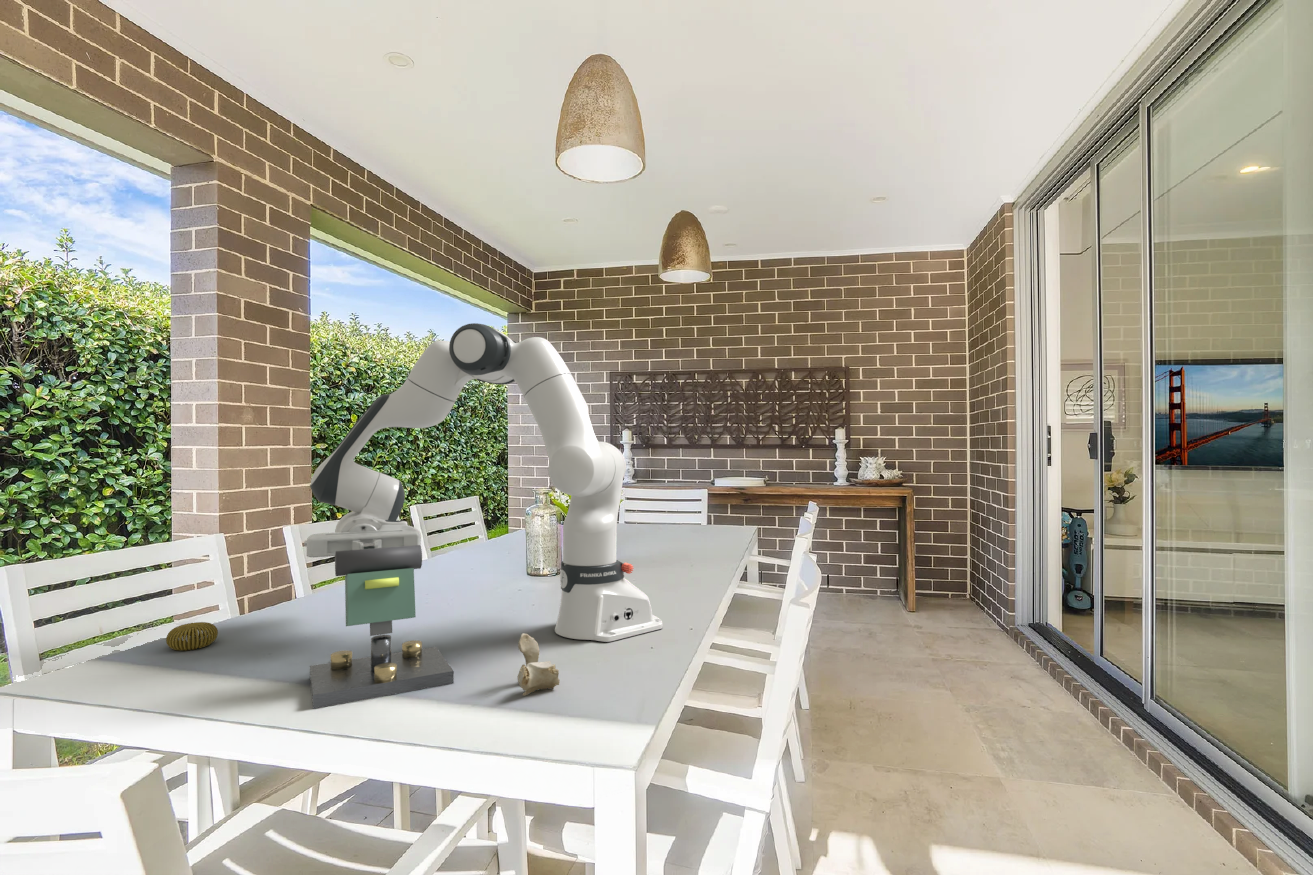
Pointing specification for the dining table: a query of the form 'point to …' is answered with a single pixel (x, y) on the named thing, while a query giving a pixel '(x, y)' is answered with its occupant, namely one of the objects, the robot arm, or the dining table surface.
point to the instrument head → (379, 585)
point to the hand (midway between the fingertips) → (369, 548)
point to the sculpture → (192, 636)
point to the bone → (535, 668)
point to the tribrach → (378, 673)
